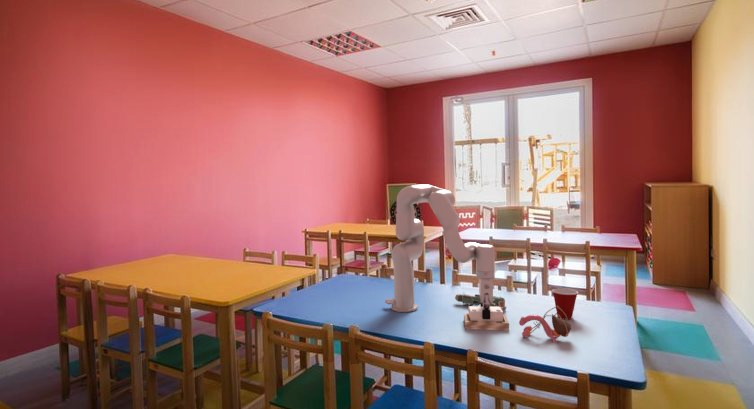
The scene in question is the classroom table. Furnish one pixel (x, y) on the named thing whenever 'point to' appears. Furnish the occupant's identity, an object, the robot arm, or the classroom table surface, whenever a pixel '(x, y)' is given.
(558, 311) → the plastic cup
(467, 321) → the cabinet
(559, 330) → the anatomy model
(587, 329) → the classroom table surface
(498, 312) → the pale pink knobbed block
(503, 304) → the hoverbike
